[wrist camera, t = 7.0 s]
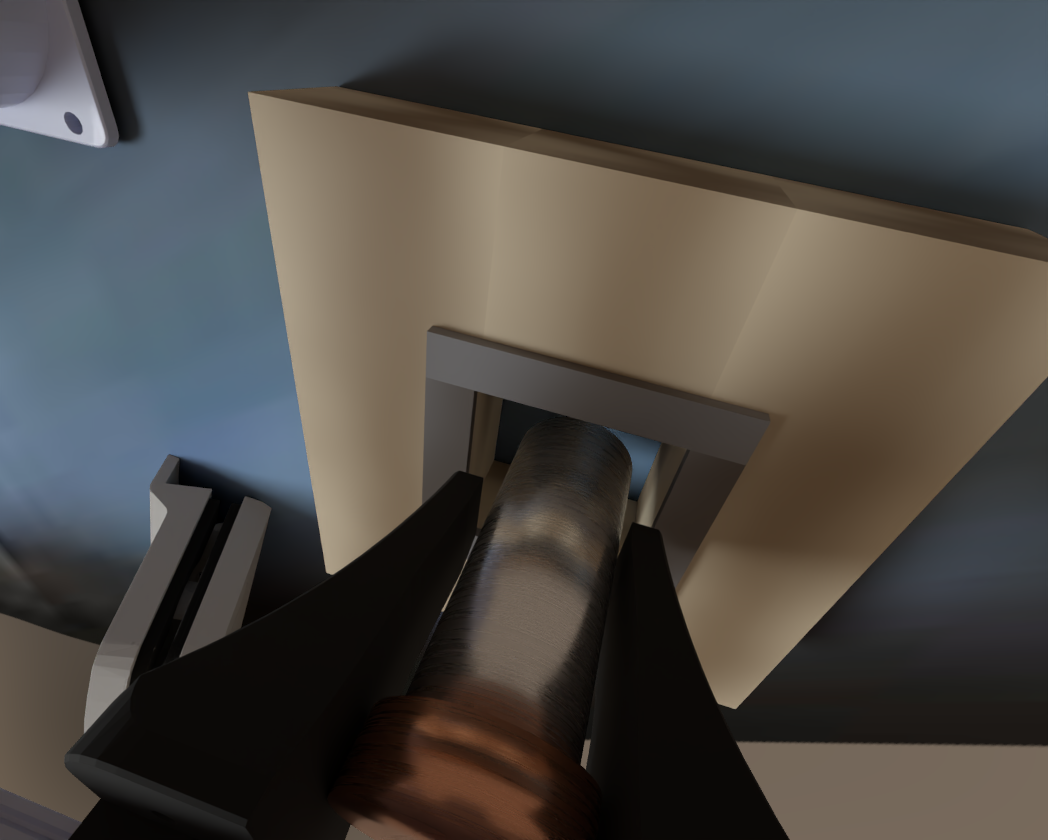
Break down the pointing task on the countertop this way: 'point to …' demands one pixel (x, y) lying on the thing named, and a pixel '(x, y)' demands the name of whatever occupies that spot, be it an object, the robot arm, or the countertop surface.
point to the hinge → (179, 585)
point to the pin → (506, 664)
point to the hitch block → (639, 343)
